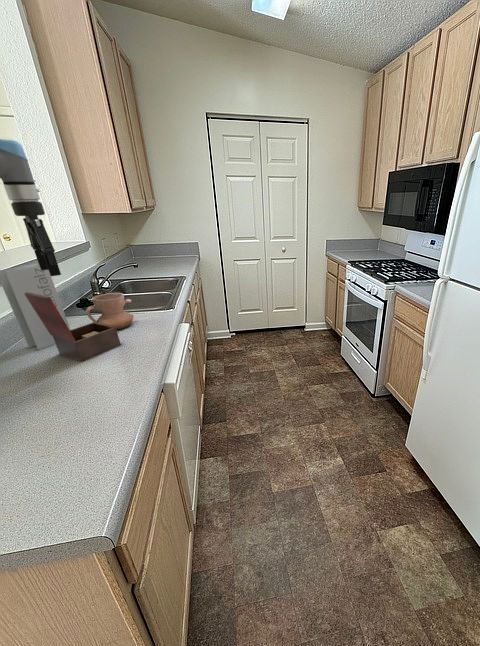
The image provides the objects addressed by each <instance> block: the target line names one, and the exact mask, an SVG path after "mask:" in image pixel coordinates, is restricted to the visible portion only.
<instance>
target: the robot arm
mask: <svg viewBox="0 0 480 646" xmlns="http://www.w3.org/2000/svg"><path fill="white" fill-rule="evenodd" d="M0 180H1V181H2V183H3V187H4V190H5V192H6V195H7V198H8V200H9V201H12V202H11V203H10V205H11V208H12V210H13V213H14V215H15V216H16V217H23V218H22V220H23V222H24V226H25V228H26V232H27V236H28V239H29V242H30V243H29V244H30V247H31V248H32V250H33V252H34V254H35V257H36V260H37V264H38V266H40V268H41V270H49V272H50V275H51V277H55V276H61V275H62V273H61V270H60V267H59V264H58V261H57V257H56V256H55V252H56V250H55V248H54V246H53V243H52V241H51V239H50V237H49V234H48V232H47V230H46V227H45V225H44V220H43V219H42V218H39V216H45V215H46V212H45V209H44V206H43V203H42V202H41V201H39V200H40V199H41V198H40V195H39V193H40V191H41V190H40V188H37V185H36V182H35V179H34V176H33V172H32V170H31V167H30V164H29V159H28V157H27V155H26V153H25V150H24V147H23V145H22V144H21V143H20V142H19V141H16V140H12V139H5V138H4V139H3V138H0Z"/></svg>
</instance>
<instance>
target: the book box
mask: <svg viewBox="0 0 480 646" xmlns="http://www.w3.org/2000/svg"><path fill="white" fill-rule="evenodd" d="M94 331H95V332H98V333H97V334H95V335H92V336H89V337H87V338H84V339H83V338H82V336H83V335H85V334H88V333H91V332H94ZM70 332H71V333H72V335H73V337H74V338H75V341H74V342H72V341H69V340H65V339H62V338H58V337H55V336H53V338H54V341H55V346H56V348H57V350H58V353H59V355H61V356H64V357H67V358H69V359H73V360H76V361H79V362H84V361H87V360H89V359H91V358H93V357H96V356H99V355H101V354H103V353H106V352H108V351H110V350H112V349H115V348H117V347H119V346H122V344H121V340H120V337H119V334H118V330H116V327H112V326H107V325H103V324H99V323H95V322H93V321H92V322H90V323H88V324H84V325H81V326H78V327H75V328H73V329H70Z"/></svg>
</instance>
